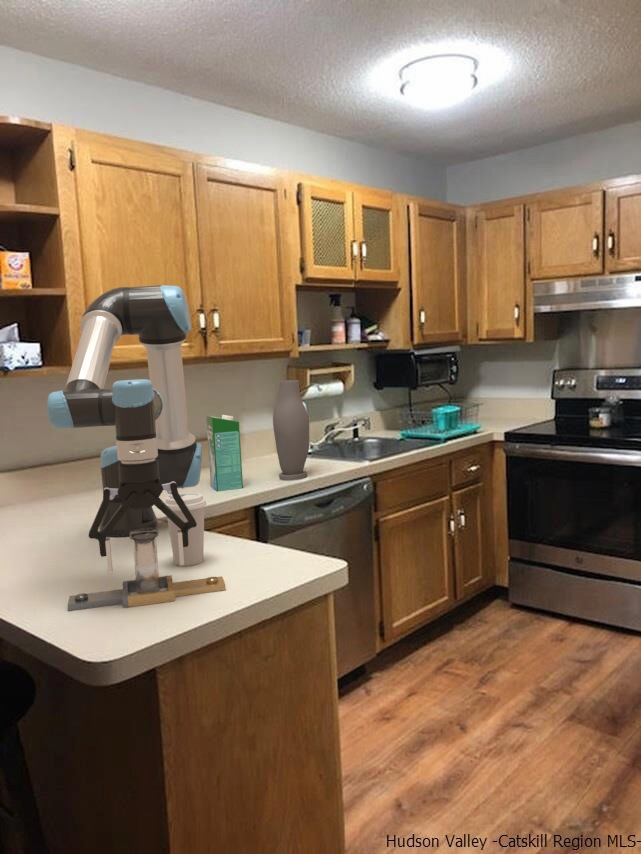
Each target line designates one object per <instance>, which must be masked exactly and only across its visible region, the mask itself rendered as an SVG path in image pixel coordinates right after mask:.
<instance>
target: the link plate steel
mask: <svg viewBox="0 0 641 854" xmlns="http://www.w3.org/2000/svg"><path fill="white" fill-rule="evenodd" d="M167 576H168V575H163V576H159V584H160V589H163V588H168V587H167ZM131 592H137V588H136V579H131V580H125V581H122V588H121V589H114V590H103V591H98V592H97V591H96V592H90V593H89V592H88V593H84V592H83V593H78V594H74V595H69V598H68V602H67V611H68V612H70V611H79V610H86V609H92V608H93V609H94V608H101V607H108V606H115V605H117V606H118V605H122V608H123V609H125V608H130V607H129V606H128V595H130V593H131Z"/></svg>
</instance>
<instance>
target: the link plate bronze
mask: <svg viewBox="0 0 641 854" xmlns="http://www.w3.org/2000/svg"><path fill="white" fill-rule="evenodd" d="M166 576H167V587H166V588H167V589H166V590H165V589H164V590H163V589H162V590H160V591H155V592H148V593H140V594H137V593H133V594H129V595H128V606H129V607H128V608H133V607H139V606H145V605H155V604H161V603H170V602H175V601H176V597H183V596H190V595H191V594H192V595H197V594H198V595H199V594H205V593H213V591H214V592H219V591H220V590H222V591H226V583H225V580H224V578H223V576H221V575H220V576H210V577H206V578H199V579H192V580H191V579H190V580H183V581H175V582H173V581H174V580H173V575H171V574H170V575H166ZM220 592H221V591H220Z"/></svg>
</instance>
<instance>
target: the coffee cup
mask: <svg viewBox="0 0 641 854" xmlns="http://www.w3.org/2000/svg"><path fill="white" fill-rule="evenodd" d="M179 495H180V496H181V498H182V499H183V501H184V503H185V504H186V506H187V508H188V509H189V511H190V512H191V514H192V516H193V517H194V519H195V521H196V523H197V525H196V527H193V528H191V529H189V530H188V542H189V545H188V547H183V554H184V565H180V562H179V548H178V534H177V530H179V529H180V528H179V527H178V526H177V525H175V524H174V523H173V522H172V521H171V520H170V519H169V518H168V517H167V516H166V520H167V526H168V532H169V539H170V546H171V550H172V557H173V563H175V565H176V566H179V567H189V566H191V567H192V566H194V565H198V564H201V563H202V562H204V550H205V549H204V545H205V544H204V543H205V542H204V541H205V537H204V535H205V507H206V506H207V502H206V499H205V498H204V496H203V494H202V493H198V492H182V493H179ZM164 503H165V504H166V505H167V506H168V507H169V508H170V509H171V510H172V511H173V512H174V513H175V514H176V515H177V516H178V517H179V518H180V519H182V520H183V521H184V522H187V519H186V517H185V516H184V514H183V513H182V511H181V509H180V508H179V506H178V505H177V503H176V501H175V500H174V498H173V496H172V494H170V495H168V496H166V498H165V501H164Z"/></svg>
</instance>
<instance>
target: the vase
mask: <svg viewBox="0 0 641 854" xmlns="http://www.w3.org/2000/svg"><path fill="white" fill-rule="evenodd" d="M300 389H301V388H300V381H299V379H289V380H288V379H287V380H279V385H278V394H277V397H276V401H275V404H274V408H273V412H272V413H273V414H272V426H273V434H274V440H275V447H276V453H277V458H278V463H279V468H280V470H281V472H282V473H278V477H279V480H280V481H298V480H303V479H305V478H307V477H308V472H307V471H306V470H304V468H305V465H306V461H307V458H308V454H309V451H310V420H309V415H308V412H307V409H306V407H305V405H304V401H303V400H302V397H301V391H300Z"/></svg>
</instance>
